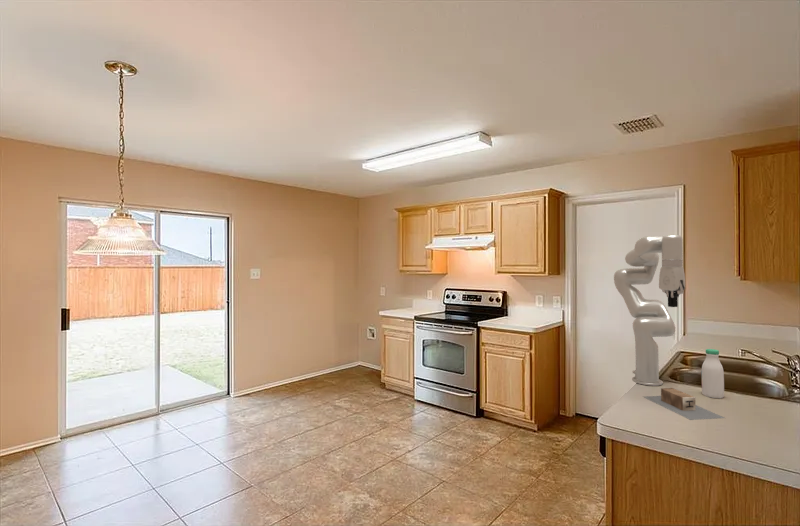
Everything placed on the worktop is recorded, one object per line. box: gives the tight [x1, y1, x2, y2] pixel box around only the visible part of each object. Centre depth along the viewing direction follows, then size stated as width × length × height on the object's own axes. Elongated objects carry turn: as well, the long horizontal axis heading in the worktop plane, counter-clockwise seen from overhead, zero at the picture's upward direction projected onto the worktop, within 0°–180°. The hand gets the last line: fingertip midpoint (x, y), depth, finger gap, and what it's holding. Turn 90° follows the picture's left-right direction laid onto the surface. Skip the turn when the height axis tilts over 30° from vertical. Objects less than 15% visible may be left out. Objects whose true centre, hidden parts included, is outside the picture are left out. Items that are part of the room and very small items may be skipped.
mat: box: [643, 395, 726, 421], centre depth 163 cm, size 26×14×1 cm, turn 5°
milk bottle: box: [701, 348, 725, 399], centre depth 177 cm, size 8×8×20 cm
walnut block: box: [660, 387, 697, 411], centre depth 165 cm, size 5×5×12 cm
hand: (672, 306), depth 175 cm, fingers closed
